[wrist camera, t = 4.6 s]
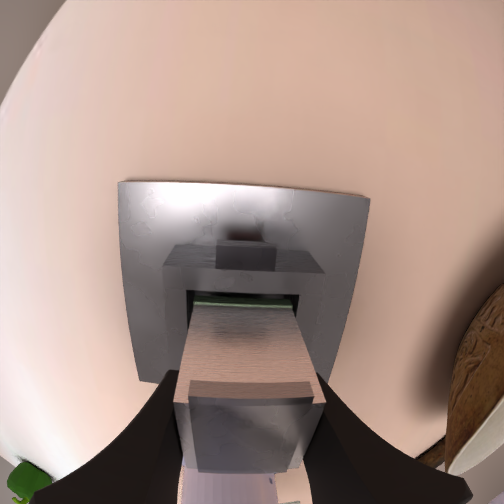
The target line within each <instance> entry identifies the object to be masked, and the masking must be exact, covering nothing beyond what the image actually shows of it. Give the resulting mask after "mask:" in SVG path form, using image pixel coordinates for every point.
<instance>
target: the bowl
mask: <svg viewBox="0 0 504 504" xmlns="http://www.w3.org/2000/svg"><path fill="white" fill-rule="evenodd" d="M447 415H448V417H447V429H446V444H445V472H446V473H448V474H451V475H455V476H456V475H459V474H461V473H463V472H465V471H467V470H468V469H470V468H472V467H473V466H475V465H477V464H478V463H480V462H481V461H482V460H484V459H485V458H486V457H488V456H489V455H490V454H491V453H493V452H494V451H495V450H496V449H497V448H499V447H500V446H501V445H502V444H503V443H504V283H503V284H502V285H501V286H499V288H498V289H497V290H496V291H495V292H494V293H493V294H492V295H491V296H490V297H489V299H488V300H487V301H486V302H485V304H484V305H483V306H482V307H481V309H480V310H479V312H478V313H477V315H476V316H475V318H474V319H473V321H472V323H471V324H470V326H469V328H468V330H467V332H466V333H465V335H464V337H463V339H462V341H461V343H460V346H459V349H458V352H457V355H456V359H455V362H454V368H453V374H452V380H451V387H450V395H449V401H448V414H447Z"/></svg>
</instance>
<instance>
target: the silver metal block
mask: <svg viewBox="0 0 504 504" xmlns="http://www.w3.org/2000/svg"><path fill="white" fill-rule="evenodd" d="M173 403H174V409H175V415H176V421H177V426H178V431H179V436H180V441H181V446H182V451H183V455H184V460H185V464H186V468H189V469H198V472H199V473H215V474H266V473H282V472H287V469H292V468H299V466H300V464H301V461H302V459H303V457H304V455H305V453H306V450H307V448H308V446H309V444H310V441H311V439H312V437H313V434H314V432H315V430H316V427H317V425H318V422H319V420H320V417H321V415H322V412H323V409H324V407H325V404H326V400H325V398H324V395H323V392H322V389H321V386H320V384H319V381H318V378H317V375H316V373H315V370H314V367H313V364H312V362H311V359H310V356H309V353H308V351H307V348H306V345H305V343H304V340H303V337H302V335H301V332H300V329H299V327H298V324H297V321H296V318H295V316H294V313H293V311H292V303H291V301H290V299H268V298H240V297H219V296H200V295H195V297H194V301H193V312H192V316H191V320H190V325H189V329H188V334H187V338H186V343H185V347H184V352H183V356H182V361H181V366H180V371H179V375H178V380H177V385H176V390H175V395H174V401H173Z"/></svg>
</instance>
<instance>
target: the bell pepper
mask: <svg viewBox="0 0 504 504" xmlns="http://www.w3.org/2000/svg"><path fill="white" fill-rule="evenodd" d="M50 484H52V480H51V478H50V477H49V476H48V475H47V474H46V473H44V472H43V471H41V470H39V469H37V468H36V467H35V466H33V465H32V464H30V463H28V462H22V463H20V464H19V465H18V466H17V467H16V468H15V469H14V470H13V471H12V472H11V474H10V475H9V478H8V480H7V486H8V488H10V489H11V490H12V491H13V492H14V493H16V494H17V495H18V496H19V497H20V498H23V500H22V501H19V500H17V499H16V497H13V498H12V500H13V501H14V502H15V503H17V504H27V503H28V502H30V499H31V498H32V496H33V494H34V492H35V491H37V490H39V489H41V488H44V487H46V486H48V485H50Z"/></svg>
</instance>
